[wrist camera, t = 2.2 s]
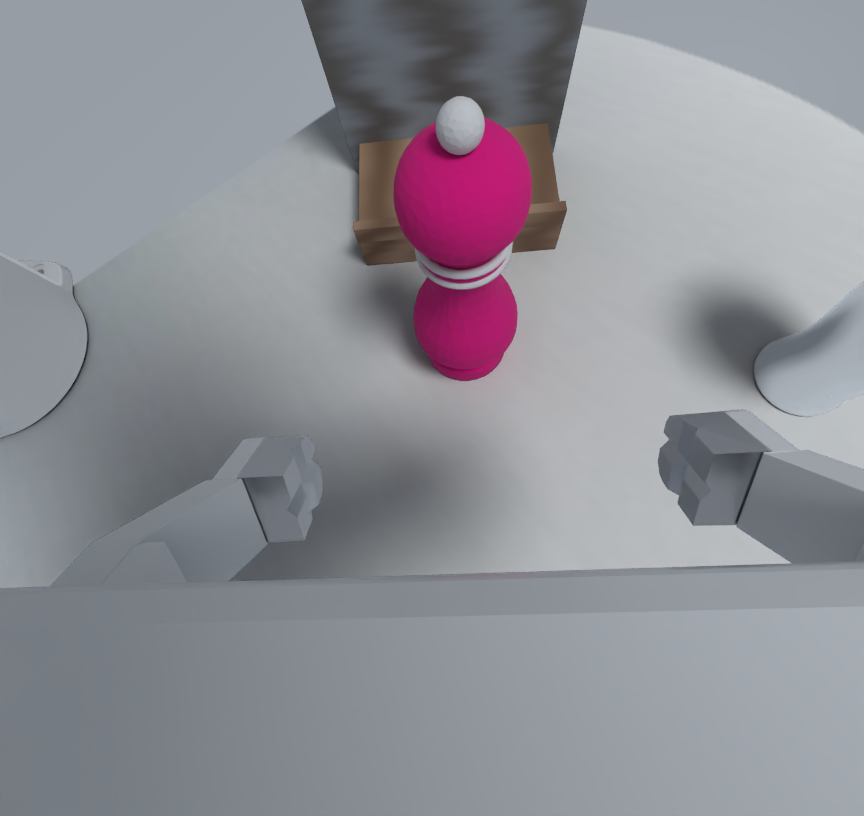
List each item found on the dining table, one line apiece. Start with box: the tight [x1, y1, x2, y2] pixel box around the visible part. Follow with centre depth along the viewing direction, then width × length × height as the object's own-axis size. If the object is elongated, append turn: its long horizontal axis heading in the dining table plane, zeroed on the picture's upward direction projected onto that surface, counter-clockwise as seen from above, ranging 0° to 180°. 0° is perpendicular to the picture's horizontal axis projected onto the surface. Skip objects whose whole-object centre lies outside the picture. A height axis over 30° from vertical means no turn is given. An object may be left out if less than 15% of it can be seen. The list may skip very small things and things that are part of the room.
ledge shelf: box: [302, 0, 587, 265], centre depth 24 cm, size 18×11×28 cm, turn 92°
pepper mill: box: [393, 96, 532, 381], centre depth 24 cm, size 7×7×20 cm
